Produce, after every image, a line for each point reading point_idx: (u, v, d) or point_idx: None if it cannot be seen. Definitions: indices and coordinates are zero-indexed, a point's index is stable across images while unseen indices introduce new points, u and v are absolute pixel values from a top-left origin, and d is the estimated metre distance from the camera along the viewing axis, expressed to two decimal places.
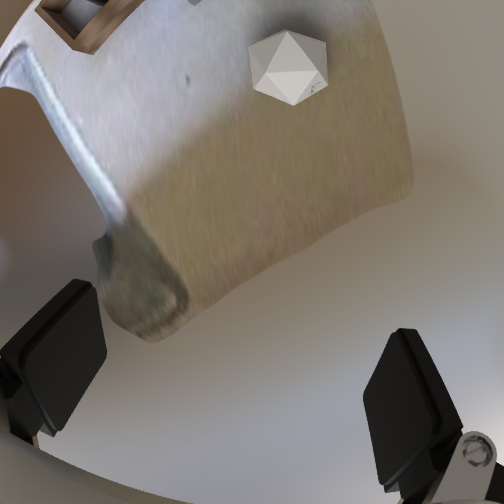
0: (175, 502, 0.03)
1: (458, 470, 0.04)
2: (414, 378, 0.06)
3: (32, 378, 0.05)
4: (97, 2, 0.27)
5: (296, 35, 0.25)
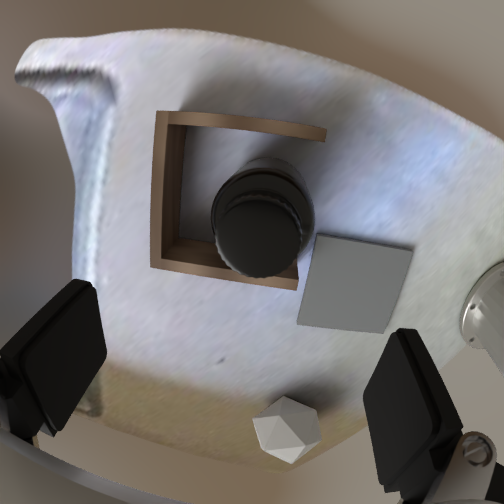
0: (175, 502, 0.03)
1: (458, 470, 0.04)
2: (414, 378, 0.06)
3: (32, 378, 0.05)
4: None
5: (308, 445, 0.31)
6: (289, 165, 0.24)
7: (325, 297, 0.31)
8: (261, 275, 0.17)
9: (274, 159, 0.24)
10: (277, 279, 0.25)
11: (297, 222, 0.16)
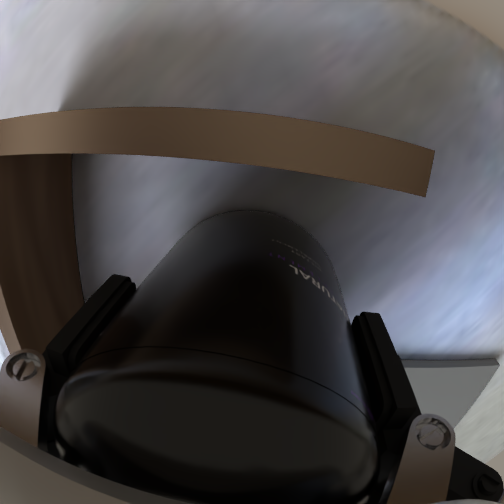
0: (175, 502, 0.03)
1: (415, 456, 0.04)
2: (370, 358, 0.07)
3: None
4: None
5: None
6: (300, 243, 0.09)
7: None
8: None
9: (259, 225, 0.09)
10: None
11: None
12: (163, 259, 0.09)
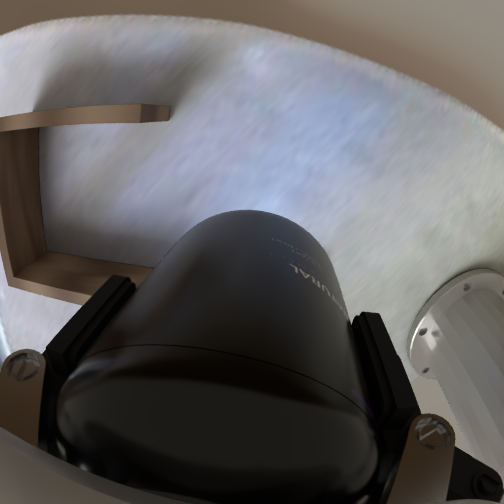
0: (175, 502, 0.03)
1: (415, 456, 0.04)
2: (370, 358, 0.07)
3: None
4: None
5: None
6: (300, 242, 0.09)
7: None
8: None
9: (259, 225, 0.09)
10: None
11: None
12: (163, 258, 0.09)
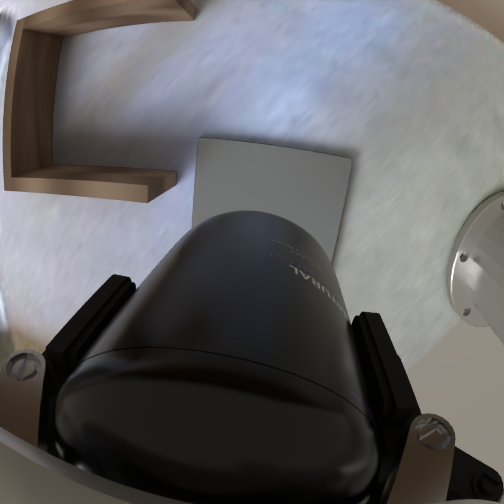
0: (175, 502, 0.03)
1: (415, 456, 0.04)
2: (370, 358, 0.07)
3: None
4: None
5: None
6: (300, 243, 0.09)
7: None
8: None
9: (259, 226, 0.09)
10: (121, 187, 0.16)
11: None
12: (163, 259, 0.09)
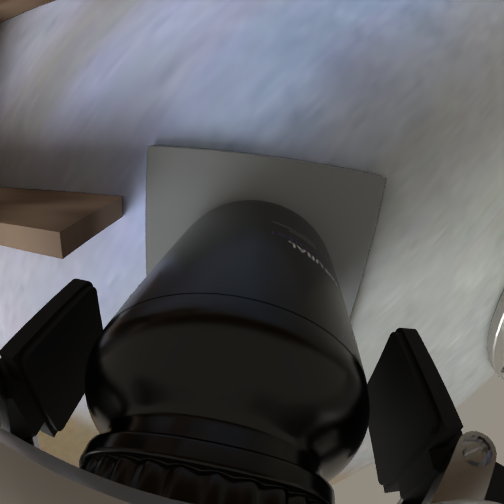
0: (175, 502, 0.03)
1: (458, 470, 0.04)
2: (414, 378, 0.06)
3: (32, 378, 0.05)
4: None
5: None
6: (298, 226, 0.10)
7: None
8: None
9: (262, 211, 0.11)
10: (28, 232, 0.09)
11: None
12: (179, 240, 0.10)
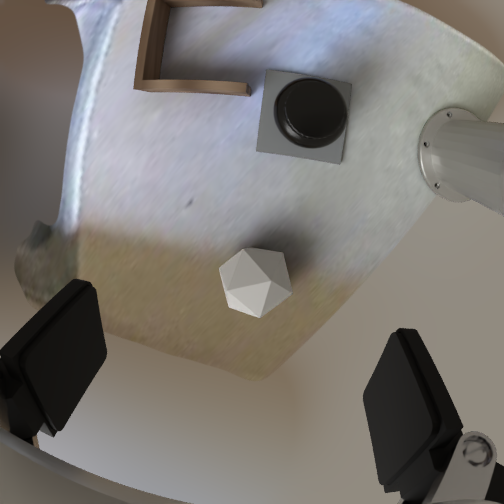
0: (175, 502, 0.03)
1: (458, 470, 0.04)
2: (414, 378, 0.06)
3: (32, 378, 0.05)
4: None
5: (274, 285, 0.34)
6: None
7: None
8: (318, 135, 0.23)
9: None
10: (229, 83, 0.28)
11: (341, 99, 0.22)
12: None
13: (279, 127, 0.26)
